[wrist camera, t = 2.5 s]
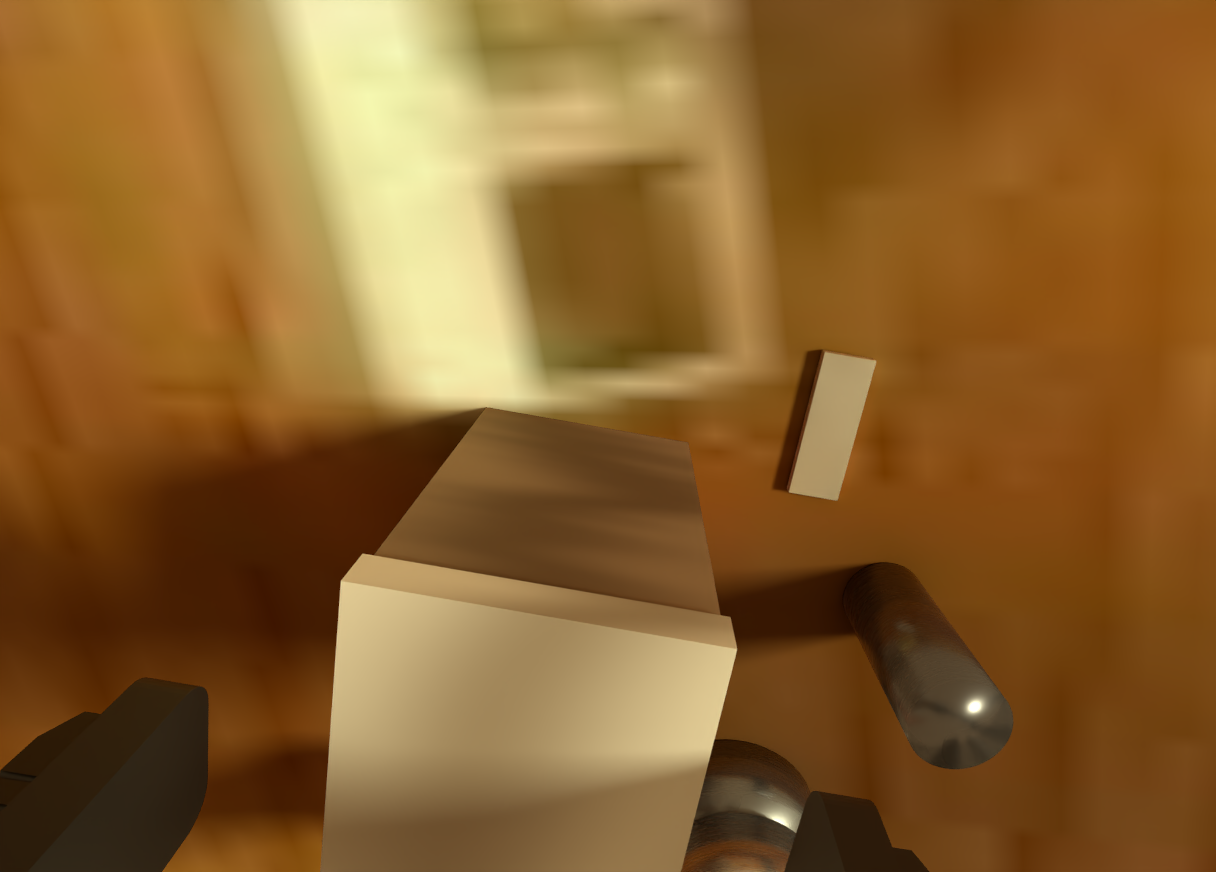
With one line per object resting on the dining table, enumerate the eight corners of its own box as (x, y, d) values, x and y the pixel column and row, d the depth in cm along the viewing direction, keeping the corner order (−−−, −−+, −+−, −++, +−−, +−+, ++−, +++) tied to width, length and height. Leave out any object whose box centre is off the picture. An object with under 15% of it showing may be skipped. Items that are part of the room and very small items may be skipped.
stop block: (692, 439, 19) (737, 648, 10) (653, 624, 20) (662, 946, 11) (482, 402, 19) (340, 580, 10) (459, 590, 20) (318, 888, 11)
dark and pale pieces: (994, 379, 18) (1124, 445, 13) (823, 900, 23) (871, 1088, 18) (741, 335, 18) (778, 384, 13) (623, 866, 22) (617, 1045, 18)
